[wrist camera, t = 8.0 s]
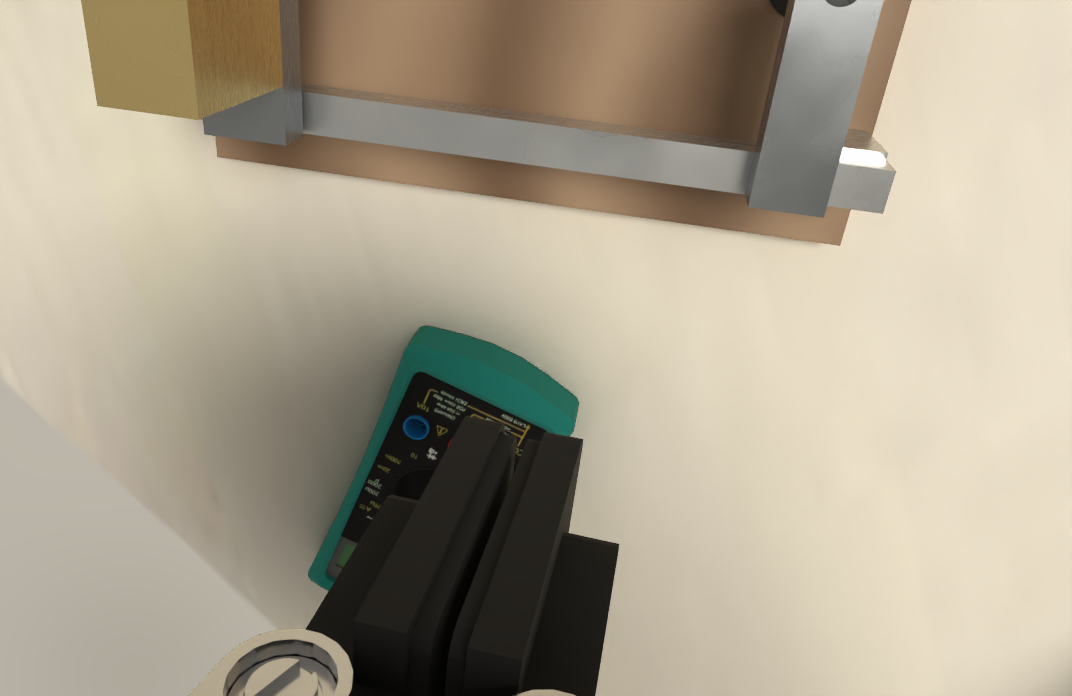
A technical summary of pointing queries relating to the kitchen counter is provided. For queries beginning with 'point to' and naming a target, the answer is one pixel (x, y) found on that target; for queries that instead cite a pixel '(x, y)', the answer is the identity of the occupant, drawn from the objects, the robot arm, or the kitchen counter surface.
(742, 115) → the bolt plate
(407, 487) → the digital multimeter
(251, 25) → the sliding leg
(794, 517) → the kitchen counter surface
